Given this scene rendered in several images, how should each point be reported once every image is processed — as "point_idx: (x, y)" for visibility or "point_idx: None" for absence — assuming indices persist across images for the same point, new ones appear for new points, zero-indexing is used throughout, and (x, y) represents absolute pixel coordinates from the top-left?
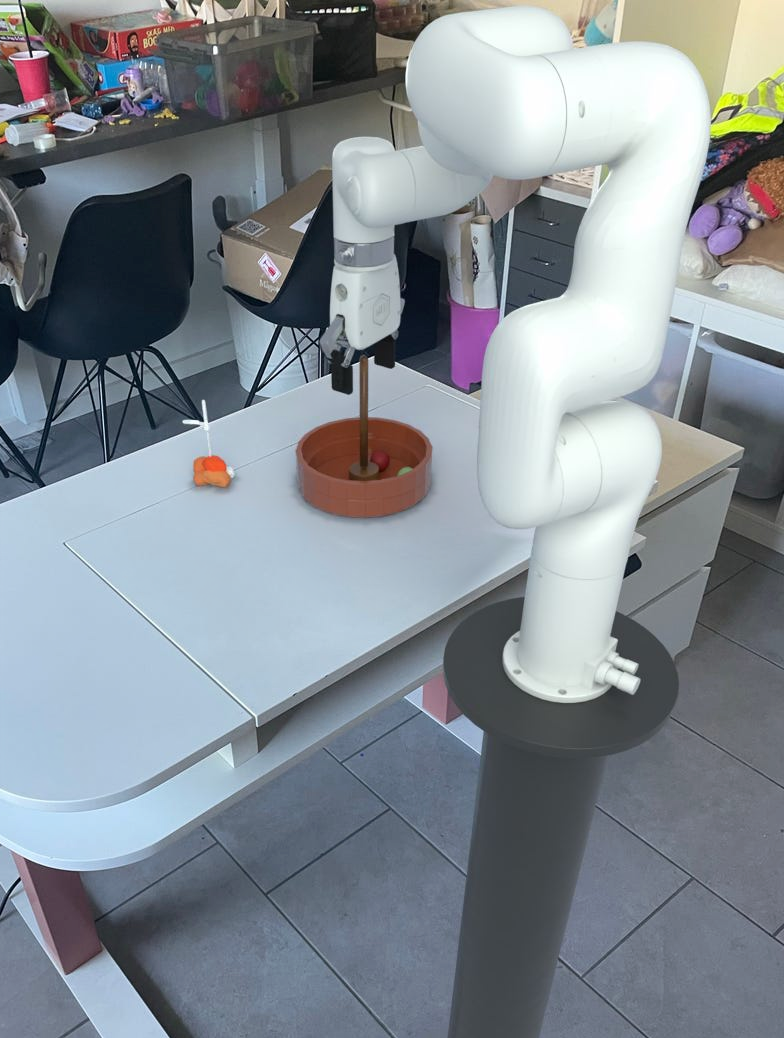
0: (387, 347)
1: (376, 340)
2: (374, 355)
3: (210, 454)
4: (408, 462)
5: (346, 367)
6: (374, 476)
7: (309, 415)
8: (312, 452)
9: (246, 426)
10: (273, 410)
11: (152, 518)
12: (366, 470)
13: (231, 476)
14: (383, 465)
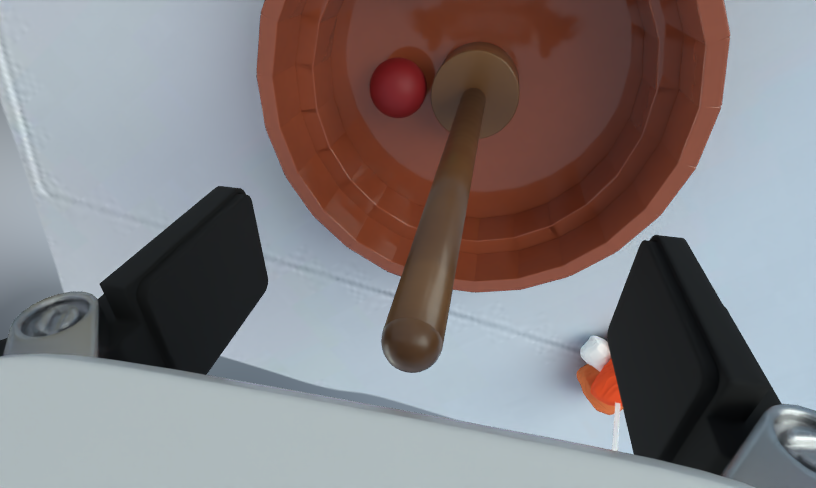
0: (184, 291)
1: (452, 443)
2: (246, 315)
3: (618, 406)
4: (333, 24)
5: (803, 409)
6: (486, 49)
7: (301, 321)
8: (482, 247)
9: (403, 385)
10: (330, 373)
11: (799, 386)
12: (481, 83)
13: (601, 339)
14: (413, 64)
